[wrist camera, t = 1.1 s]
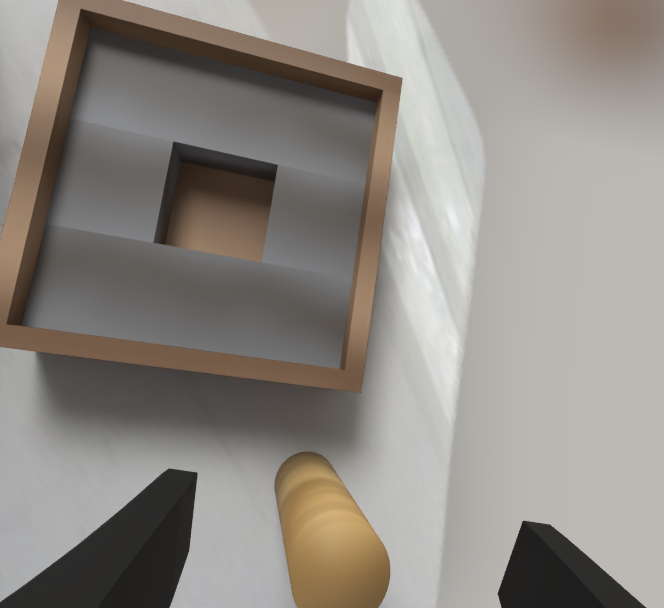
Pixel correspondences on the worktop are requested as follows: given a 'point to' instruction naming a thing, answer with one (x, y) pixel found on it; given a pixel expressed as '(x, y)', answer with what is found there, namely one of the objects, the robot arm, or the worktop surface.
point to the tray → (197, 201)
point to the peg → (327, 538)
